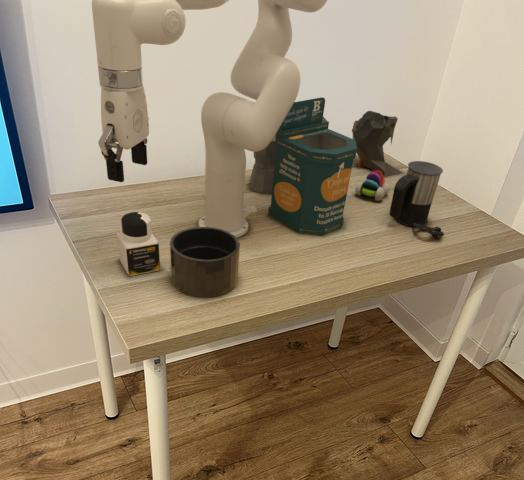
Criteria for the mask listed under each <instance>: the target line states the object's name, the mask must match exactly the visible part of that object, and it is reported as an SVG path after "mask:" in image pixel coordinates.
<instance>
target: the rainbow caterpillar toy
mask: <svg viewBox="0 0 524 480" xmlns="http://www.w3.org/2000/svg"><path fill="white" fill-rule="evenodd" d="M390 190H391V187H390V185H389V184H388V182H386V178H385V177H384V176H383V174H382V172H381V171H379V170H375V171H373V170H372V171H371V172H370V173H368V174H367V175H366V177H365V178H364V179H363V180H362V181H360V182H358V183H357V184H356V185H355V189H354V192H355V193H356V195H357V196H359V197H361V196H362V195H364V196H368V197H374V201H375V202H379V201H382V200H383V198H384V197H386V196H387V195H388V194H389V193H390Z"/></svg>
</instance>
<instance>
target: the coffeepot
mask: <svg viewBox="0 0 524 480" xmlns="http://www.w3.org/2000/svg"><path fill="white" fill-rule="evenodd" d="M275 136H276V134H275ZM275 136H274V137H273V139H272V141H271V142H270V143H269V145H268V146H267V147H266V148H264V149H263V150H261V151H258V152H253V159H254V163H253V166H252V171H251V175H250V179H249V182H248V185H249V188H250V190H252V191H253V192H256V193H259V194H265V195H266V194H267V195H268V194H272V187H273V177H274V166H275V156H276V146H275Z"/></svg>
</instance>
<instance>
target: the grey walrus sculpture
mask: <svg viewBox="0 0 524 480" xmlns="http://www.w3.org/2000/svg"><path fill="white" fill-rule="evenodd" d="M397 122H398V117H397V116H388V115H383V114H381V113H380V112H376V111H373V110H367V111H365V113H364V114H363V115H362V116H361V117H360V118H359V119H357V120H355V121H354V122H353V125H352V128H351V133H352V139H354V140H355V141H356V146H357V152H356V155H357V156H358V163H357V166H358V167H360V168H366V169H369V170H371V171H372V172H373V171H375V170H379V171H381V172H382V174H383V177H384V178H385V177H389V176H394V175H400V174H403V172H402V171H400V170H398V169H397V168H396V167H394V166H393V165H391V164H389V163H388V162H386V161H385V153H384V145H385V144H386V143H387V142H388V141H389V139H390V145H392V143H393V138H394V133H395V128H396V125H397Z"/></svg>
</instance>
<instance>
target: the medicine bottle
mask: <svg viewBox="0 0 524 480" xmlns="http://www.w3.org/2000/svg"><path fill="white" fill-rule="evenodd" d="M120 222H121V230H122V231H119V232H117V233H116V239H117V248H118V257H119V261H120V263H121V265H122V267H123V268H124V270H125V271H126V274H127V275H128V276H129V277H133V276H138V275H143V274H149V273H153V272H158V271H160V270H161V261H160V245H159V241H158V239H157V238H156V237H155V235H154V234H153V232H152V219H151V217H150V216H149V214H147V213H145V212H140V211H133V212H128V213H125V214H124V215H123V216H122V217H121V219H120Z"/></svg>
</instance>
